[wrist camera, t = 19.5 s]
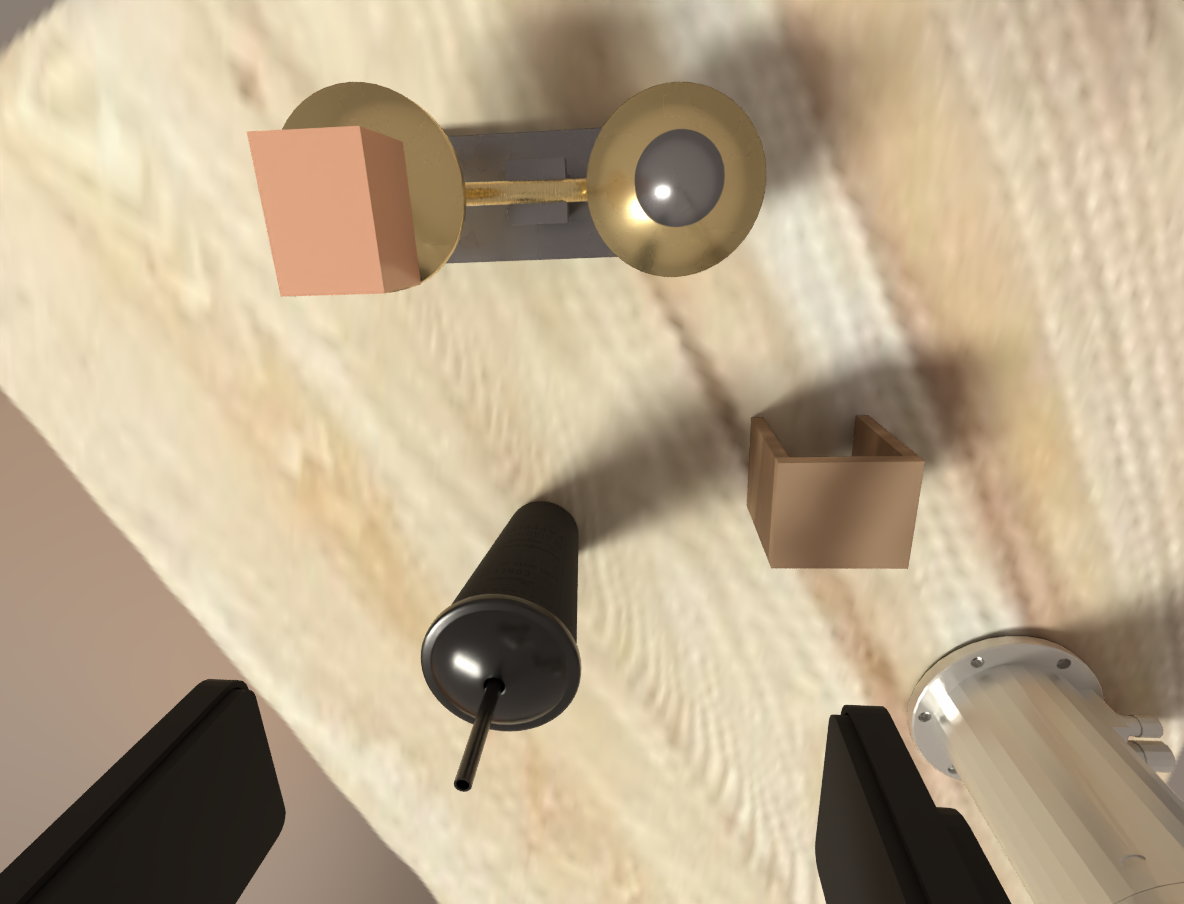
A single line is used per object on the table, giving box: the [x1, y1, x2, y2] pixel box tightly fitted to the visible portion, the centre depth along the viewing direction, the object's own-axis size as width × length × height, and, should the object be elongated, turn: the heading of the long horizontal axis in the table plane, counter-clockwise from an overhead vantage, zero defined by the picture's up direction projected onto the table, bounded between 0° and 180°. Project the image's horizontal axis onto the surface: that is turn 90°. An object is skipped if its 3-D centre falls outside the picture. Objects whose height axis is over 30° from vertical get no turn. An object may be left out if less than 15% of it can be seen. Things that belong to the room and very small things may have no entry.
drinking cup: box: [421, 502, 581, 792], centre depth 32 cm, size 8×8×20 cm
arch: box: [747, 415, 925, 569], centre depth 34 cm, size 7×6×8 cm
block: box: [247, 126, 421, 296], centre depth 23 cm, size 4×4×6 cm
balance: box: [282, 82, 766, 293], centre depth 29 cm, size 21×8×10 cm, turn 92°
